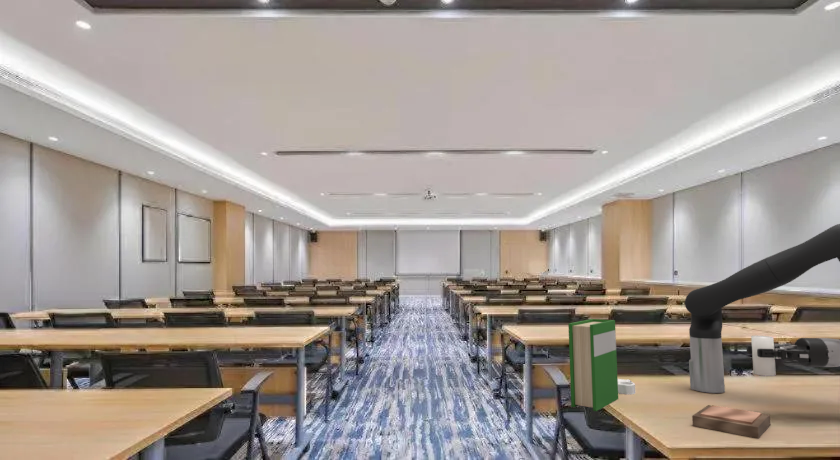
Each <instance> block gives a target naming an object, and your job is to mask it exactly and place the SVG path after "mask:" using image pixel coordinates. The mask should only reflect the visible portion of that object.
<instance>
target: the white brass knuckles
mask: <svg viewBox="0 0 840 460" xmlns="http://www.w3.org/2000/svg"><path fill="white" fill-rule="evenodd" d="M620 394H621V395H635V394H636V384H635V382H633V381H632V380H630V379H628V378H627V379H623V378H618V395H620Z"/></svg>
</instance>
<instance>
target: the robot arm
mask: <svg viewBox="0 0 840 460" xmlns="http://www.w3.org/2000/svg"><path fill="white" fill-rule="evenodd" d="M835 259H837V261H838V262H839V263H840V223H838V224H834V225H833V226H831V227H829V228H826V230H823V231H822V232H819V233H818V234H817V235H815V236H813V237H812V238H809V239H808V240H805V241H804V242H802V243H800V244H797V245H794V246H792V247H789V248H787V249H784V250H781V251H780V252H777V253H775V254H773V255H770V256H767V257H765V258H762V259H761V260H759V261H756V262H754V263H752V264H750V265H748V266H746V267H744V268H742V269H740V270H738V271H737V272H735V273H733V274H732V275H729V276H728V277H726V278H724V279H722V280H721V281H717V282H715V283H712V284H709V285H707V286H702V287H700V288H696V289H693V290H691V291H690V292H689V293H688V294H687V295H686V297H685V300H684V306H685V308H686V309H685V310H686V311H688V313H690V319H691V320H690V321H691V322H690V326H689V329H688V331H689V334H688V335H689V347H690V348H689V349H690V350H689V351H690V359H689V360H688V364H689V365H688V366H689V367H688V368H689V384H690V386H689V387H690V388H689V389H690V390H692V391H697V392H701V393H710V394H722V393H725V391H726V390H725V389H726V386H725V385H726V384H725V371H724V356H723V341H722V340H723V339H722V331H723V309H722V308H724V307H726V306H728V305H729V304H732V303H735V302H737V301H739V300H744V299H747V298H751V297H754V296H755V297H756V296H758V295H760V294H765V293H767V292H771V291H772V290H775V289H778V288H781V287H782V286H785V285H786V284H789V283H791V282H792V281H793V282H794V280H796V279H798V278H799V277H800V276H802V275H804V274H805V273H807V272H808V271H809V270H811V269H812V268H814V267H816V266H818V265H820V264H823V263H825V262H828V261H831V260H835ZM745 349H746V353H747V354H749V355H752V345H747V346H746V348H745ZM757 356H758V357H763V358H775V360H776V359H777V360H779V359H780V360H781V361H797V363H799V364H800V365H801V366H803V367H810V368H811V367H815V368H819V367H820V368H835V367H840V339H837V338H829V337H799V338H798V339H796V341H795V343H794V344H791V343H781V344H780V343H774V350H773V349H757Z"/></svg>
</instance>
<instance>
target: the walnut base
mask: <svg viewBox="0 0 840 460" xmlns="http://www.w3.org/2000/svg"><path fill="white" fill-rule="evenodd" d="M691 418H692V427H697V428H702V429H708V430H712V431H717V432H718V431H719V432H723V433H728V434H733V435H739V436H743V437H744V436H745V437H750V438H755V439H760V438H761V436H762V435H763V434H764V433H765V432H766V431H767V430H768V428H769V427H770V426H771V424H772V423H771V415H770V414H768V413H767V414H766V413H762V412H758V411H757V412H756V411H752V410H745V409H740V408H732V407H726V406H720V405H710V404H708V405H706V406H704V407H703V408H702V409H700V410H699V411H697V412H696V413H694V414H692V415H691Z"/></svg>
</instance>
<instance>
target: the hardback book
mask: <svg viewBox="0 0 840 460" xmlns="http://www.w3.org/2000/svg"><path fill="white" fill-rule="evenodd" d="M616 339H617V335H616V320H615V319H613V320H612V319H596V318H591V319H585V320H580V321H575V322H570V323H568V346H569V347H568V349H569V350H568V352H569V375H570V376H569V380H570V383H569V384H570V406H571V408H576V407H578V406H582V407H588V408H592V411H593V412H598V411H600V410H601V409H603V408H605V407H607V406H608V405H610V404H612V403H614V402H616V401H619V393H618V379H619V377H618V361H617V357H618V356H617V340H616Z"/></svg>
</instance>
